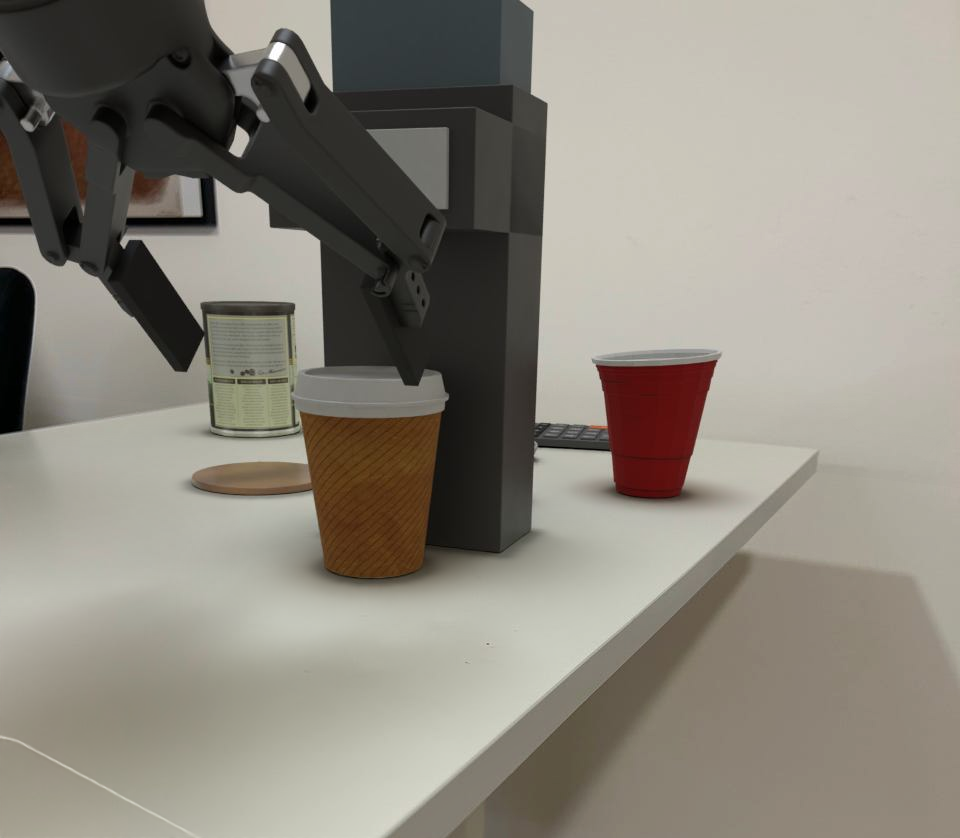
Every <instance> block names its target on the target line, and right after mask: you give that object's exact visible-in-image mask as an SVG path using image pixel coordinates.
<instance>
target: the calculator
mask: <svg viewBox="0 0 960 838" xmlns="http://www.w3.org/2000/svg"><path fill="white" fill-rule="evenodd" d="M535 442H536V443H537V445H538V446H544V447H559V448H577V449H578V448H579V449H595V450H596V449H597V450H610V445H609V436H608V427H607V425H597V424H596V425H595V424H591V425H587V424H577V423H573V424H570V423H559V422H558V423H552V422H535Z"/></svg>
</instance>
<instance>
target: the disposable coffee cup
mask: <svg viewBox="0 0 960 838" xmlns="http://www.w3.org/2000/svg"><path fill="white" fill-rule="evenodd" d="M291 398H292V399H293V400H295V406H296V409H297V410H299V419H300V422H301V423H300V424H301V428H302V436H303V440H304V441H303V443H304V448H305V453H306V460H307V464H308V466H309V472H310V478H311V484H312V489H311V490H312V495H313V503H314V507H315V514H316V520H317V525H318V532H319V537H320V538H319V539H320V543H321V550H322V555H323V561H324V567H325V568H326V569H327V570H328V571H330V572H333V573H334V574H338V575H341V576H346V577H353V578H361V579H383V578H394V577H398V576H399V577H400V576H403V575H408V574H411V573H414V572H416V571H418V570H420V569H421V567H422V568H423V565H424V555H425V547H426V544H425V540H426V532H427V524H428V516H429V507H430V500H431V491H432V483H433V475H434V468H435V459H436V451H437V443H438V435H439V428H440V419H441V412H442V411H443V410H444V409H445V401H447V400H448V399H449V394H448V393H446V392H445V389H444V385H443V380H442V375H441V373H440V372H438V371H433V370H428V369H424V372H423V375H422V378H421V380H420V383H419V386H405V385H404V383H403V381H402V379H401V377H400V374H399V372H398V370H397V368H396V367H394V366H336V367H324V366H321V367H312V368H305V369H302V370H299V371H297V381H296V387H295V391H293V392H292V393H291Z"/></svg>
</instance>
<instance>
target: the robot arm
mask: <svg viewBox="0 0 960 838" xmlns="http://www.w3.org/2000/svg"><path fill="white" fill-rule="evenodd" d="M0 53H1V54H2V56H3V57H2V58H1V60H0V131H1V133H2V134H3V135H4V137H5V138H6V143H7V145H8V148H9V151H10V155H11V159H12V162H13V166H14V170H15V172H16V175H17V179H18V183H19V185H20V189H21V192H22V193H21V194H22V196H23V199H24V202H25V206H26V210H27V213H28V216H29V220H30V222H31V226H32V229H33V233H34V236H35V240H36V243H37V246H38V250H39V253H40V255H41V257H42V258H43V259H44V260H45V262H47V263H48V264H50V265H53V266H55V267H59V268H60V267H64V266H65V265H66V263H67V261H69V262H72V263H75V264H78V265H79V267H80V269H81V270H82V271H83V272H84V273H86V274H87V275H88V276H92V277H94V278H98V280H99V281H100V282H101V284H102V285H104V288H105V289H106V290H107V292H108V293H109V294H110V295H111V297H112V298H113V299H114V300H115V301H116V303H117V305H118V306H119V307H120V308H121V310H122V311H123V312H125V314H127V315H128V316H129V317H130V318H134V319H135V320H136V322H137V323H138V324H139V326H140V327H141V329H142V330H143V331H144V332H145V334H146V335H147V336H148V338H149V339H150V340H151V342H152V343H153V344H154V346H155V347H156V348H157V349H158V351H159V352H160V353H161V355H162V356H163V358H164V359H165V360H166V362H167V363H168V364H169V365H170V367H171V368H172V369H173V371H174V372H177V373H188V371H189V368H190V367H191V365H192V363H193V360H194V358H195V356H196V354H197V352H198V349H199V347H200V345H201V344H202V341H203V340H204V335H205V333H204V331H203V327H202V326H201V325H200V324H199V322H198V320H197V319H196V318H195V316H194V314H193V313H192V312H191V310H190V309H189V307H188V306H187V304H186V303H185V302H184V300H183V299H182V297H181V296H180V294H179V293H178V291H177V290H176V289H175V287H174V285H173V283H172V282H171V281H170V279H169V278H168V276H167V275H166V274H165V271H163V269H162V267H161V266H160V265H159V263H158V261H157V260H156V259H155V257H154V256H153V254H152V253H151V251H150V250H149V249H148V247H147V246H146V244H145V242H144V241H143V239H128V241H127V243H126V245H125V246H124V247H123V246H122V244H121V242H122V240H123V239H124V236H125V235H126V234H127V231H128V229H129V228H130V226H129V225H127V224H126V223H127V218H128V212H129V208H130V207H129V206H130V201H131V194H132V190H133V184H134V180H135V175H136V172H139V173H142V174H143V176H144V178H145V179H146V180H163V179H165V178H168V177H172V176H181V177H185V178H189V179H210V177H212V178H213V179H215V180H216V181H218V182H219V183H220V184H222V185H223V186H224V187H226V188H228V189H229V190H230V191H232V192H234V193H236V194H245V193H247V192H249V193H251V194H253V195H255V196H256V197H257V198H259V199H261V200H262V201H263V202H264V203H266V204H267V205H268V206H269V205H270V206H272V207H273V208H275V209H276V210H277V211H279V212H280V213H282V214H283V215H284V216H286V217H287V218H289V219H290V220H292V221H293V222H294V223H296V224H297V225H299V226H300V227H301V228H303V229H304V230H306V231H305V232H307V233H308V234H310V235H311V236H312V237H314V238H315V239H317V240H318V241H319V242H320V241H321V242H323V243H324V244H326V245H327V246H328V247H330V248H331V249H333V250H334V251H335V252H337V253H338V254H340V255H341V256H343V257H344V258H345V259H347V260H348V261H350V262H351V263H352V264H354V265H355V266H357V267H358V268H359V269H361V270H362V271H364V272H365V276H364V278H363V281H362V283H361V285H360V289H361V291H362V294H363V296H364V298H365V300H366V302H367V304H368V307H369V309H370V311H371V313H372V315H373V318H374V320H375V322H376V324H377V326H378V329H379V331H380V333H381V335H382V337H383V339H384V342H385V344H386V346H387V348H388V350H389V353H390V355H391V357H392V359H393V361H394V364H395V366H396V368H397V370H398V372H399V374H400V377H401V379H402V381H403V383H404V385H405V386H419V383H420V380H421V378H422V375H423V372H424V369H425V367H426V364H427V361H428V358H429V355H430V353H431V350H432V347H433V344H434V343H433V341H432V338H431V336H430V333H429V331H428V328H427V326H426V323H425V321H424V317H425V314H426V311H427V308H428V306H429V299H430V296H429V294H428V291H427V288H426V286H425V283H424V282H423V278H422V275H421V273H425V272H427V271H428V270H429V269H430V267H431V264H432V261H433V259H434V256H435V254H436V251H437V248H438V246H439V243H440V240H441V238H442V235H443V232H444V229H445V227H446V219H445V218H444V216H443V215H442V214H441V213H440V212H439V210H438V209H437V208H436V207H435V206H434V205H433V204H432V203H431V202H430V200H429V199H428V198H427V197H426V196H425V195H424V194H423V193H422V192H421V190H420V189H419V188H418V187H417V186H416V185H415V184H414V183H413V181H412V180H411V179H410V178H409V177H408V176H407V175H406V174H405V173H404V171H403V170H402V169H401V168H400V167H399V166H398V165H397V164H396V163H395V161H394V160H393V159H392V158H391V157H390V156H389V155H388V154H387V153H386V151H385V150H384V149H383V148H382V147H381V146H380V145H379V144H378V143H377V141H376V140H375V139H374V138H373V137H372V136H371V135H370V134H369V133H368V131H367V130H366V129H365V128H364V127H363V126H362V125H361V124H360V123H359V121H358V120H357V119H356V118H355V117H354V116H353V115H352V114H351V113H350V111H349V110H348V109H347V108H346V107H345V106H344V105H343V104H342V103H341V101H340V100H339V99H338V98H337V97H336V96H335V95H334V94H333V93H332V92H333V90H331V89H330V88H329V87H328V86H327V84H325V82H324V80H323V78H322V76H321V74H320V72H319V70H318V69H317V66H316V64H315V62H314V60H313V59H312V57H311V55H310V53H309V51H308V48H307V47H306V45H305V43H304V41H303V40H302V38H301V37H300V36H299V34H297V33H296V32H295V31H294V30H292V29H290V28H287V27H285V28H284V27H280V28H278V29H276V30H275V32H274V33H273V35H272V37H271V39H270V41H269V43H268V45H267V46H266V47H263V48H258V49H253V50H249V51H244V52H239V53H235V52H234V51H233V50H232V49H231V48H230V47H229V46H227V44H226V43H225V42H224V41H223V40H222V39H221V38H220V37H219V35H218V34H217V33H216V32H215V30H214V28H213V27H212V25H211V23H210V20H209V16H208V12H207V9H206V3H205V0H0ZM63 121H64V122H66V123H68V124H69V125H70V126H72V127H73V128H74V129H76V130H77V131H78V132H80V133H81V134H83V136H85V137H86V142H87V150H86V161H85V167H84V180H85V181H87V186H86V195H85V203H84V212H83V208H82V203H81V198H80V195H79V190H78V186H77V182H76V181H77V180H76V177H75V172H74V167H73V164H72V160H71V155H70V150H69V146H68V141H67V138H66V133H65V128H64V124H63V123H64V122H63ZM237 126H238V127H239V128H240V129H242V130H243V131H244V132H246V134H247V136H248V142H247V144H246V146H245V148H244V149H243V152H242V154H241V156H237V155H235V154H233V153H232V152H231V151H230V150H231V147H232V145H233V144H234V141H235V138H236V133H237ZM377 238H378V239H379V240H381V241H380V242H378V244H376V240H377Z"/></svg>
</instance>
